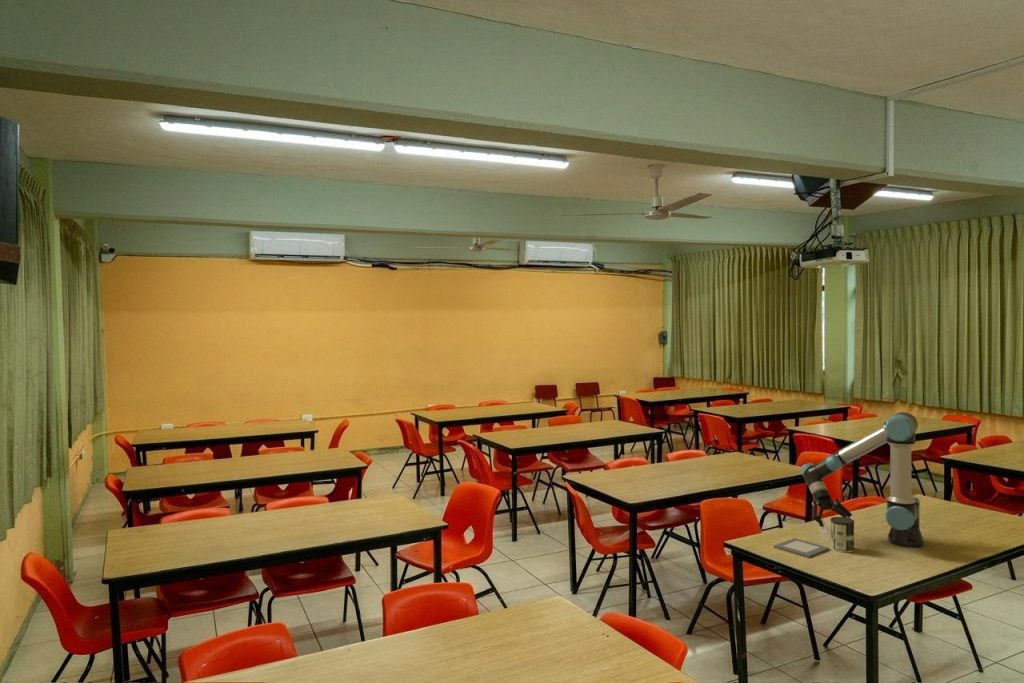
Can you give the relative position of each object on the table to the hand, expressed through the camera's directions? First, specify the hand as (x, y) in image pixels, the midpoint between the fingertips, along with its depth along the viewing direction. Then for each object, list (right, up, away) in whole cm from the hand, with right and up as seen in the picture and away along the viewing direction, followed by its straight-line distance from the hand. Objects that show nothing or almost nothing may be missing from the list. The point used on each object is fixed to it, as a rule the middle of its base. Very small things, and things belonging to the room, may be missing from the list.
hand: (839, 531), depth 319 cm
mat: (-18, -8, +1) cm, 20 cm away
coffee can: (+1, -8, -1) cm, 8 cm away
